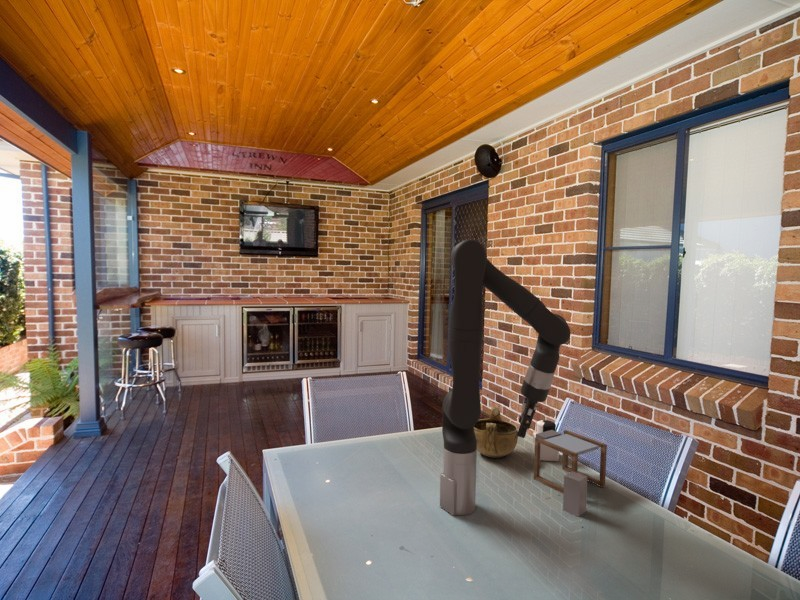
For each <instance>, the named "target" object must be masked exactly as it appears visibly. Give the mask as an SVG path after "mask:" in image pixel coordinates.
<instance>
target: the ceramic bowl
mask: <svg viewBox="0 0 800 600" xmlns="http://www.w3.org/2000/svg"><path fill="white" fill-rule="evenodd" d="M518 430H519V427H518V426H517V425H516V424H515V423H512V422H510V421H508V420H505V419H504V420H503V419H502V417H501V407H500V406H491V410H490V416H489V418H482V419H480V418H479V420H478V421H477V423H476V424H475V425H474V432H475V436H476V439H477V452H479V453H480V454H481V455H483V456H485V457H489V458H495V459H496V458H503V457H505V456H507V455H509V454H510V453H512V452H513V451H514V450H515V449H516V447H517V443H518V440H519V439H518V438H519V436H517V433H518Z"/></svg>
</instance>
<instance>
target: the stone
mask: <svg viewBox="0 0 800 600" xmlns="http://www.w3.org/2000/svg"><path fill="white" fill-rule="evenodd" d="M563 488H564V494H563V499H562V500H563V502H562V503H563V505H562V511H564V512H566V513H568V514H571V515H573V516H575V517H580V516H582V515H583V514H584V513H585V512H587V500H588V499H587V496H588V492H587V491H588V481H587V476H584V475H582V474H579V473H576V472H573V471H572V472H570V473H569V472H567V473H566V474H565V475H563Z"/></svg>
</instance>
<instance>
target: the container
mask: <svg viewBox="0 0 800 600" xmlns="http://www.w3.org/2000/svg"><path fill="white" fill-rule="evenodd" d="M556 425H557V424H556V423H555V422H553V421H551V420H550V419H549V420H548V419H541V420H538V421H537V422H536V431H533V433H532V455H534V457H535V438H536V434H538V433H542V432H546V431H549V430H554V431H556V427H557V426H556ZM556 432H557V431H556ZM559 457H560V451H558V450H555V449H553V448H550V447H548V446H545V445H543V444H541V443H540V461H546V462H559Z"/></svg>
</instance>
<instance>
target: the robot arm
mask: <svg viewBox="0 0 800 600" xmlns="http://www.w3.org/2000/svg"><path fill="white" fill-rule="evenodd" d="M450 263H451V265H452V267H453V269H454V295H453V300H452V305H451V309H450V314H449V322H448V339H447V343H448V346H447V347H448V353H449V360H450V366H451V371H452V385H451V387H452V389H451V390H450V391H449V392H447V393H446V395H445V396H444V399H443V401H442V406H441V408H442V410H441V417H442V418H441V425H442V426H441V429H442V430H441V431H442V438H443V461H442V462H443V463H442V464H443V465H442V466H443V467H442V468H443V469H442V473H440V476H439V477H440V478H439V507H440V506H441V507H440V508H442V509H443V510H444V509H445V510H444V511H446V512H447V513H448V512H449V514H450V515H451V516H453V515H454V516H466V515H470V514H472V513H474V512H475V510H476V496H477V495H476V493H477V491H476V490H477V484H476V483H477V453H478V451H477V439H476V436H475V432H474V425H475V424H476V423H477V421H478V420H480V417H481V413H482V411H481V410H482V407H481V406H482V405H481V393H480V373H481V363H482V361H481V359H482V358H481V357H482V356H481V355H482V345H483V332H484V331H483V327H484V326H483V324H484V323H483V322H484V321H483V319H484V318H483V315H484V314H483V287H484V288H485V289H487V290H488V291H489V292H490V293H492V294H493V295H494V296H495V297H497V298H498V299H499V300H500V301H501V302H502V303H503V304H504V305H505V306H507V307H508V308H509V309H510V310H511V311H512V312H514V314H516V315H517V316H518V317H520V318H521V319H522V320H523V321H525V322H526V323H527V324H529V326H531V327H532V329H533V330H534V331H535V332H537V340H536V345H535V349H534V352H533V354H532V357H531V359H530V363H529V366H528V368H527V370H526V373H525V375H524V378H523V382H522V385H521V387H520V393H521V395H522V396H523V401H522V405H521V414H520V416H519V418H518V421H519V427H518V433H517V436H518V438H522V439H525V437H526V436H527V435H526V434H527V432H528V430H530V428H531V424H532V421H533V420H534V417H535V414H536V412H537V409H538V403H543V402H546V400H547V398H548V395H549V392H550V390H551V387H552V384H553V382H554V381H553V380H554V377H555V372H556V370H557V367H558V365H559V362H560V348H561V346H562V345H565V344H566V343H567V342H568V341H569V340H570V337H571V329H570V326H569V324H568V322H567V320H566V318H564V317H563V316H562V315H560V314H557V313H553V312H552V311H550V309H548V307H547V306H546V305H545V304H544V302H543V301H542V300H541V299H540V298H539V297H537V296H536V295H535V294H534V293H532V292H531V291H530V290H529V289H527V288H526V287H525V286H523V285H521V284H520V283H518V281H516V280H514V279H512V278H511V277H510V276H508V275H506V274H505V273H504V272H502V271H501V270H500V269H499V268H497V267H496V266H495V265H494V264H493V263H492V262H491V261H490V260H489V259H488V255H487V250H486V248H485V247H484V245H483V244H482V243H481V242H480V241H478V240H477V239H464V240H462V241H460V242H459V243H457V244H456V245H455V246H453V248H452V250H451V252H450Z"/></svg>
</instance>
